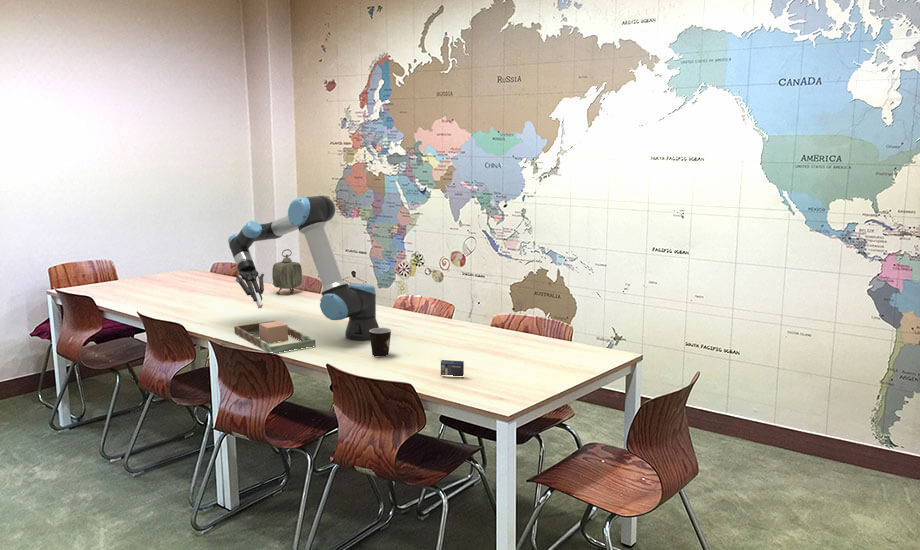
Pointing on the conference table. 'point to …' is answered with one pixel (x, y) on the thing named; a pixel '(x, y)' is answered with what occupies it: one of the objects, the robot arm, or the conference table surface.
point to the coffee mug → (380, 341)
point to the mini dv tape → (452, 367)
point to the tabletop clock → (287, 274)
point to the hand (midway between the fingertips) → (260, 306)
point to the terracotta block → (273, 332)
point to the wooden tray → (249, 335)
